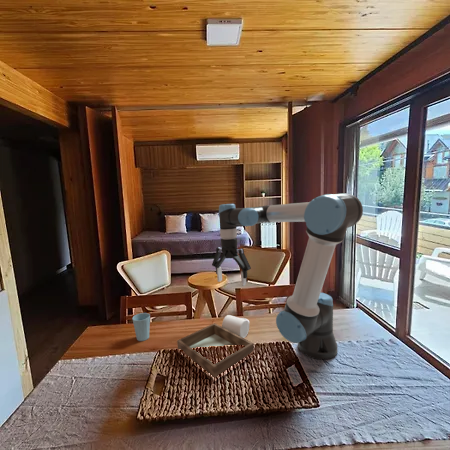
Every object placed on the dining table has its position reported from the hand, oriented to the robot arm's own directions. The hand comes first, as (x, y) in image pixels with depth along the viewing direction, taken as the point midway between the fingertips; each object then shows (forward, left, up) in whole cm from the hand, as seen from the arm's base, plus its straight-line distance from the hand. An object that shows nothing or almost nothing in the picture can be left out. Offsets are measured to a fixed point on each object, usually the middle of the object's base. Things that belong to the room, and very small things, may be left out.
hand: (231, 282), depth 124 cm
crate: (-9, +19, -23) cm, 31 cm away
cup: (+25, +34, -23) cm, 48 cm away
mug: (-4, 0, -23) cm, 24 cm away
